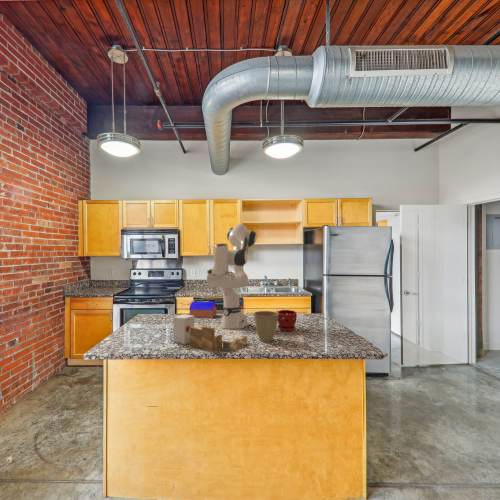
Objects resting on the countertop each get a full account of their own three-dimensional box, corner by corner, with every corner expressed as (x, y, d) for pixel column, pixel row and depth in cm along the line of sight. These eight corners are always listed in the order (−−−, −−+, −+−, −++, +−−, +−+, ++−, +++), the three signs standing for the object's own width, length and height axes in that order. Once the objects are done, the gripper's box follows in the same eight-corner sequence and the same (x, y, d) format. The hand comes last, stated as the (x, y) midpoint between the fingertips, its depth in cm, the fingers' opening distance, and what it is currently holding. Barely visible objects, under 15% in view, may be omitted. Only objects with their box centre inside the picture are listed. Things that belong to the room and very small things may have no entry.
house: (212, 318, 234) (212, 303, 234) (189, 317, 237) (188, 303, 237) (216, 314, 246) (216, 301, 246) (194, 314, 249) (194, 300, 249)
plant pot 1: (271, 345, 165) (271, 317, 165) (249, 341, 173) (249, 314, 173) (282, 338, 178) (282, 312, 178) (261, 335, 185) (261, 309, 185)
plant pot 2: (274, 330, 196) (274, 312, 196) (281, 326, 207) (281, 309, 207) (292, 332, 190) (292, 314, 190) (299, 328, 201) (299, 310, 201)
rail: (242, 342, 171) (242, 334, 171) (247, 343, 169) (247, 335, 169) (222, 350, 157) (222, 341, 157) (227, 351, 155) (227, 343, 155)
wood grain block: (200, 341, 173) (200, 321, 173) (222, 347, 162) (222, 325, 162) (189, 345, 166) (189, 324, 166) (211, 351, 155) (211, 328, 156)
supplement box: (184, 344, 167) (184, 318, 167) (172, 342, 172) (172, 316, 172) (194, 340, 175) (194, 315, 175) (183, 338, 180) (183, 313, 180)
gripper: (238, 271, 167) (237, 295, 166) (212, 270, 179) (212, 293, 179) (230, 271, 162) (230, 296, 161) (205, 270, 174) (204, 294, 174)
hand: (220, 294), depth 170 cm, fingers open, 8 cm apart
